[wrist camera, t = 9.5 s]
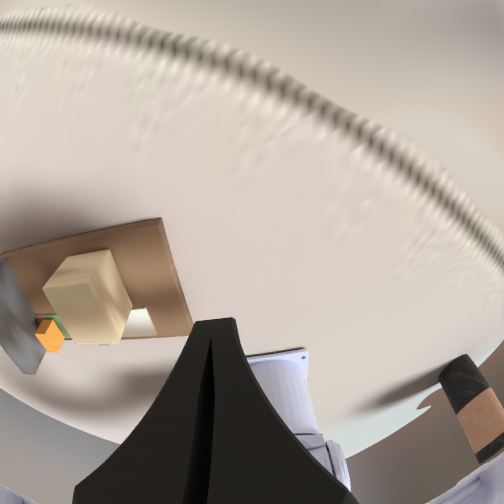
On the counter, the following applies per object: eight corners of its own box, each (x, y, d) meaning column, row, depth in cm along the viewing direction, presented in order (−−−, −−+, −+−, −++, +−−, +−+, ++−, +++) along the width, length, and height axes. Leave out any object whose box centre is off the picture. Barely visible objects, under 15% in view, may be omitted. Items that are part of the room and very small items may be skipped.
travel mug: (450, 358, 33) (501, 449, 15) (475, 348, 33) (523, 428, 16) (430, 385, 36) (470, 470, 19) (455, 375, 37) (495, 450, 20)
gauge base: (193, 325, 23) (188, 384, 17) (44, 331, 22) (23, 373, 17) (161, 217, 18) (136, 266, 12) (2, 253, 17) (-34, 290, 12)
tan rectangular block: (144, 329, 21) (134, 366, 17) (104, 331, 20) (91, 366, 17) (109, 249, 17) (87, 282, 13) (67, 256, 17) (42, 288, 13)
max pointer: (64, 337, 20) (57, 352, 19) (54, 337, 20) (47, 352, 19) (53, 319, 19) (44, 334, 18) (43, 319, 19) (34, 333, 18)
